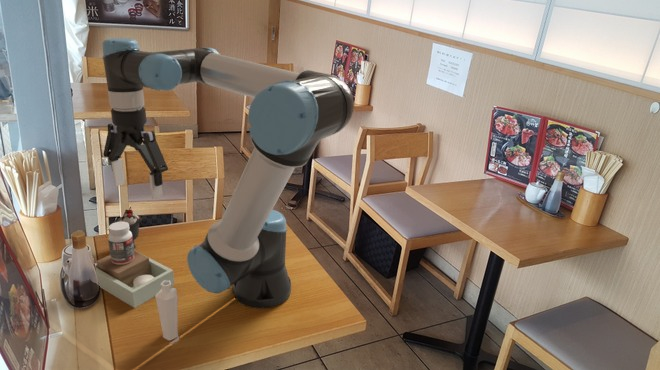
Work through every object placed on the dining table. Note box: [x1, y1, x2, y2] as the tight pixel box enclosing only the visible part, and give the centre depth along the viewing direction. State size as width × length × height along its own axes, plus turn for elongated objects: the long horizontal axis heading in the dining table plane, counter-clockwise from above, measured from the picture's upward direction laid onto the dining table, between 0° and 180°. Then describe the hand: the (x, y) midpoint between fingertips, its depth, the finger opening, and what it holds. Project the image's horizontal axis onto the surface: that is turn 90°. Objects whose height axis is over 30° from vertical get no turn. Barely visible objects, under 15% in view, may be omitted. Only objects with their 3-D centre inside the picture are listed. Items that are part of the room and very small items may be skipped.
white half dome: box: [133, 275, 154, 289], centre depth 118 cm, size 5×5×3 cm
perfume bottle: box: [155, 281, 180, 345], centre depth 102 cm, size 5×4×15 cm
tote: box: [94, 249, 175, 309], centre depth 121 cm, size 18×12×6 cm, turn 58°
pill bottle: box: [107, 221, 135, 265], centre depth 118 cm, size 6×6×10 cm
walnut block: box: [95, 250, 151, 288], centre depth 122 cm, size 9×9×6 cm
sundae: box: [116, 206, 143, 250], centre depth 134 cm, size 7×7×15 cm
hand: (138, 190), depth 117 cm, fingers open, 13 cm apart
